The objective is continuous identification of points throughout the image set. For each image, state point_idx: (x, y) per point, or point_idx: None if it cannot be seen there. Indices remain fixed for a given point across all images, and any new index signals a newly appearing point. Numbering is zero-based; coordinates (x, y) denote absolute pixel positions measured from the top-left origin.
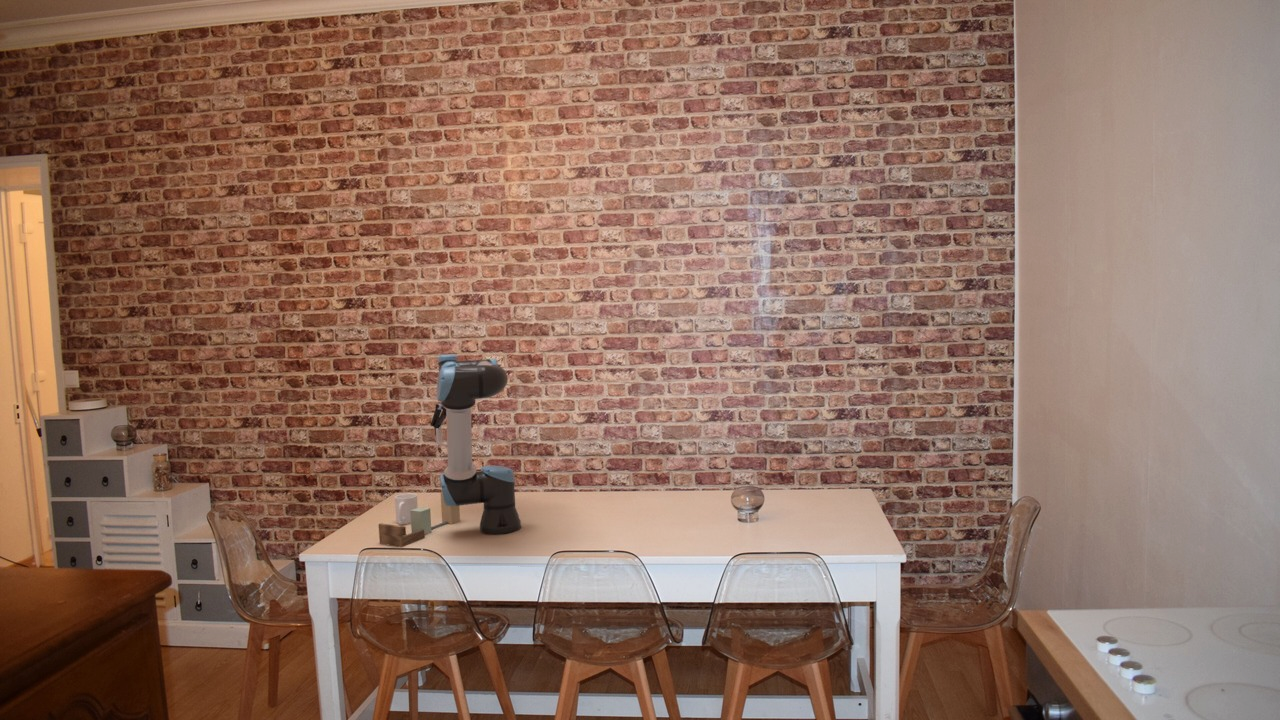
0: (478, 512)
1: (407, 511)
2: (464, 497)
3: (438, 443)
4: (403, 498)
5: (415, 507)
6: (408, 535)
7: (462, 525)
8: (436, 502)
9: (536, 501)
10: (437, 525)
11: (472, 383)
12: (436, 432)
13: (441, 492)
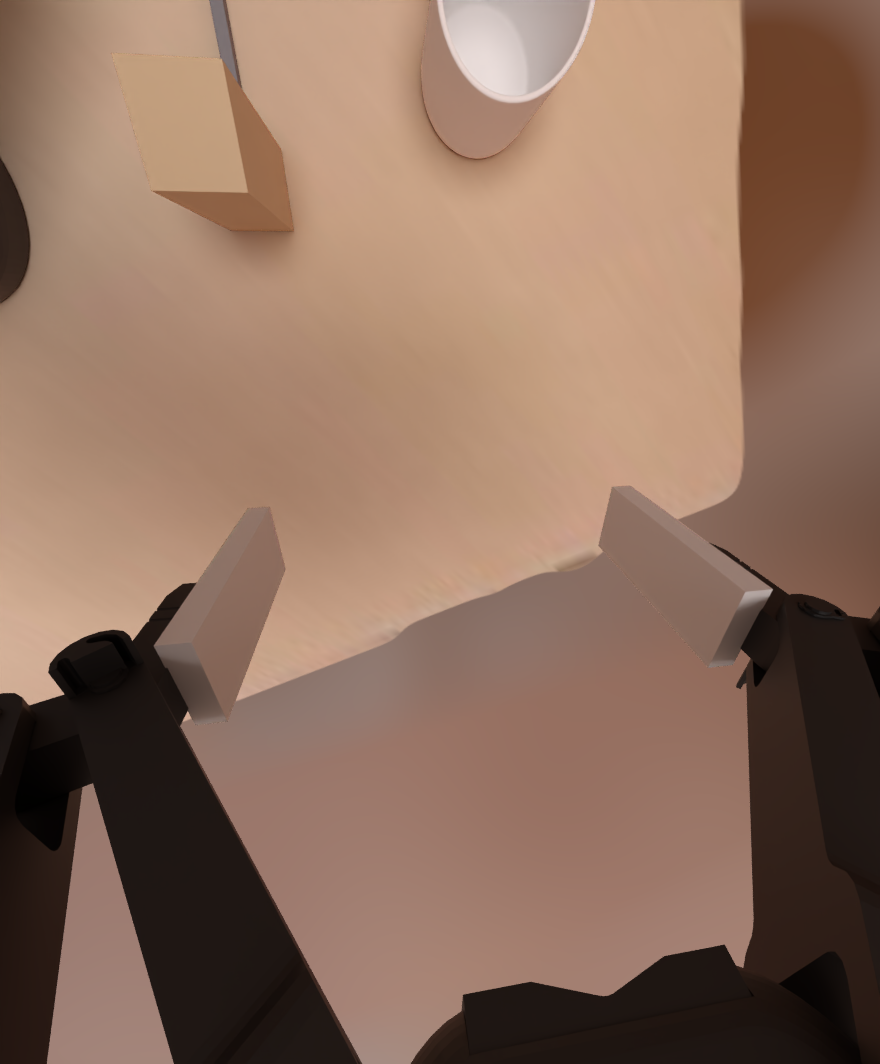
0: (283, 396)
1: None
2: None
3: (615, 495)
4: (562, 64)
5: (428, 49)
6: None
7: (139, 151)
8: (555, 443)
9: None
10: (214, 24)
11: None
12: (717, 554)
13: (211, 58)
